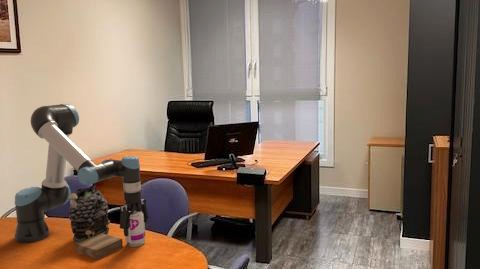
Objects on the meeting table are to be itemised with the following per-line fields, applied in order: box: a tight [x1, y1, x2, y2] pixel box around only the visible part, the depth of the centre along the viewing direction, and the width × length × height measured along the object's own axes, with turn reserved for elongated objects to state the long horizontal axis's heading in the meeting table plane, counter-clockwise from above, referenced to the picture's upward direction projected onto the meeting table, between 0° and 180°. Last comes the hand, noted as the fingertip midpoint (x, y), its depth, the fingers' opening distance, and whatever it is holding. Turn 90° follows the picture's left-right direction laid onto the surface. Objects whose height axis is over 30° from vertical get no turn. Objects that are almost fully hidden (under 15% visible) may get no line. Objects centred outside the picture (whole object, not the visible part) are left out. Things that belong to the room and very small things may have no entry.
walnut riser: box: [75, 233, 124, 260], centre depth 187 cm, size 14×14×4 cm
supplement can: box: [126, 210, 146, 248], centre depth 192 cm, size 8×8×15 cm
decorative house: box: [68, 184, 111, 244], centre depth 201 cm, size 21×15×25 cm
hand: (135, 238), depth 193 cm, fingers closed on supplement can, 8 cm apart
